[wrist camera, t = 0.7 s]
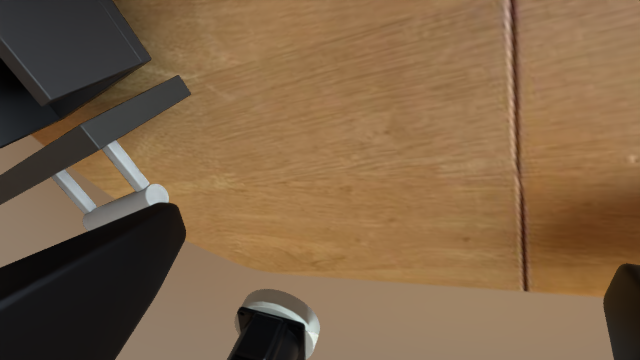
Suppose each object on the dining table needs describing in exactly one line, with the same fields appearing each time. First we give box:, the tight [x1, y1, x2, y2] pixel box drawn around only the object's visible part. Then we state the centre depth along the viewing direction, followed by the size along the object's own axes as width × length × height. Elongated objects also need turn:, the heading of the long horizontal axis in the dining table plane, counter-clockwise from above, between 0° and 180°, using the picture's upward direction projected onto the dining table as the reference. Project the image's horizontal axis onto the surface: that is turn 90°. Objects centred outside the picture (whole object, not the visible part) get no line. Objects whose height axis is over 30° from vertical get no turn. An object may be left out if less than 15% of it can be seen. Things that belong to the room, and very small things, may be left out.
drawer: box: [0, 0, 191, 231], centre depth 19 cm, size 17×10×7 cm, turn 29°
